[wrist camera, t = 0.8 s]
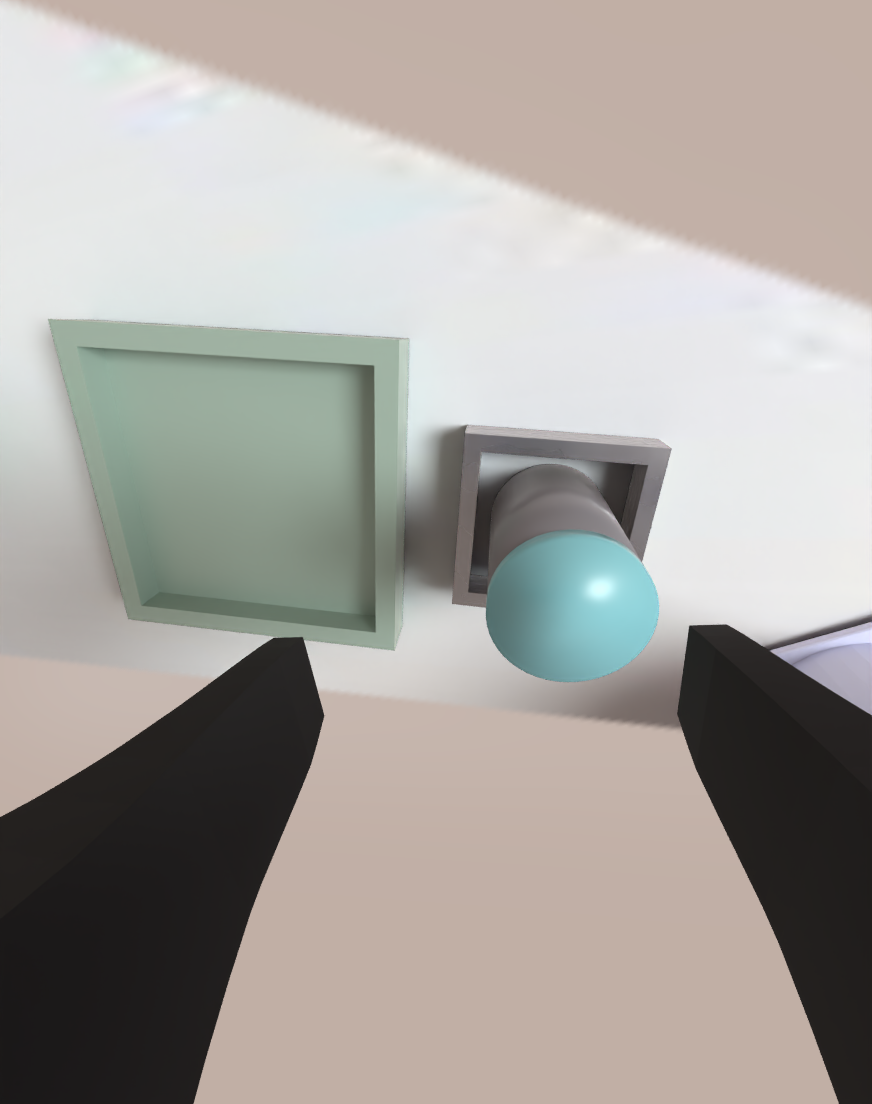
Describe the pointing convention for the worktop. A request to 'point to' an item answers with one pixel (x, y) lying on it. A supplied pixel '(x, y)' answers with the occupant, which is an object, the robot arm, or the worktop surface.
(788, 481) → the worktop surface
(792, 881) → the robot arm
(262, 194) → the worktop surface
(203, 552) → the tray
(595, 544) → the cylinder
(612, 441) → the collar
